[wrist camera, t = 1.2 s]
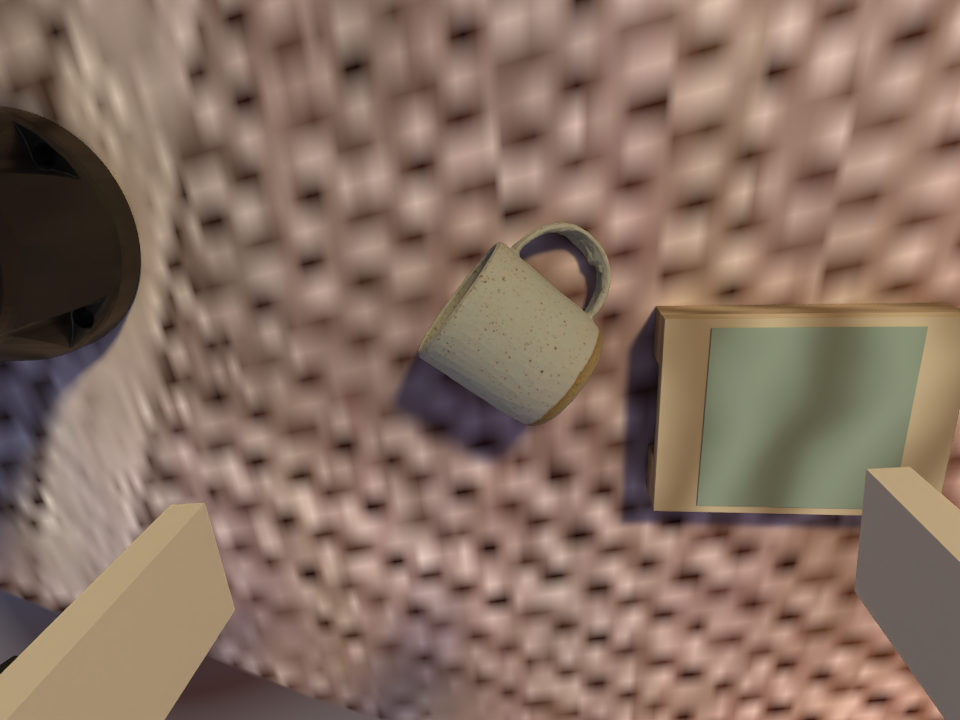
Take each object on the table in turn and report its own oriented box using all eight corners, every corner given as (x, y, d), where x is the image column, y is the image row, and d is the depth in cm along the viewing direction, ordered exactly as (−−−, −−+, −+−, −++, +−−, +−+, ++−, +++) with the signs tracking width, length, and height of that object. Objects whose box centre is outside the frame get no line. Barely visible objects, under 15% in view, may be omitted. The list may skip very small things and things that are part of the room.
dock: (646, 485, 41) (653, 511, 38) (655, 306, 37) (665, 319, 35) (907, 490, 40) (936, 518, 37) (945, 303, 36) (981, 317, 33)
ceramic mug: (532, 405, 40) (530, 460, 33) (426, 330, 39) (401, 370, 32) (641, 272, 37) (667, 301, 30) (530, 187, 36) (528, 195, 29)
